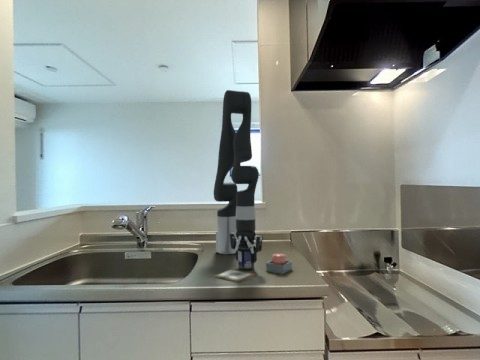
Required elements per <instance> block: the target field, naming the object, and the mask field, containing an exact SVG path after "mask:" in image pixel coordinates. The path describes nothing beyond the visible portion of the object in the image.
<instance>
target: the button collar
mask: <svg viewBox="0 0 480 360" xmlns="http://www.w3.org/2000/svg"><path fill="white" fill-rule="evenodd" d="M292 262H293V261H292V260H288V259H286V264H284V265H279V264H273V263H272V259H271V260H269V261H267V262H266V263H265V269H266V272H270V273H276V274H282V275H284V274H285V273H287V272H289V271H292V270H293V269H292V268H293V266H292V265H293V263H292Z"/></svg>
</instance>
